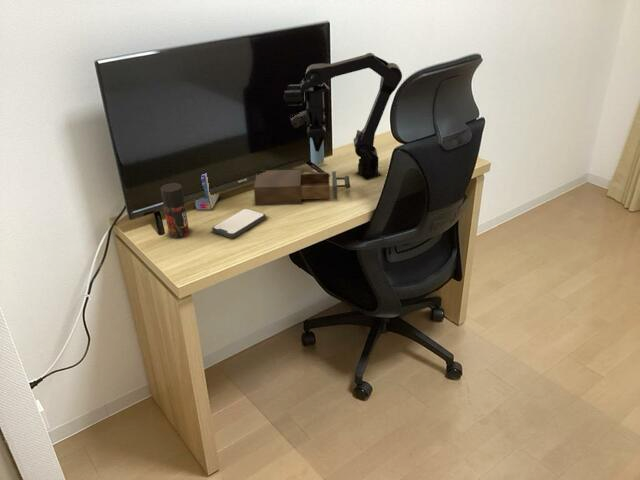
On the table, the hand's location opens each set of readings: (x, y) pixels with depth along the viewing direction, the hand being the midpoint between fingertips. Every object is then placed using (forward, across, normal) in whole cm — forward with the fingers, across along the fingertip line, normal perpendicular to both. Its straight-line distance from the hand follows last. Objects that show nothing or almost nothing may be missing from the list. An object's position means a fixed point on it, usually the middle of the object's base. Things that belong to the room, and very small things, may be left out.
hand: (317, 148), depth 200 cm
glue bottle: (+5, 0, 0) cm, 5 cm away
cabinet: (+10, +15, -13) cm, 22 cm away
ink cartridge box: (+10, +19, -36) cm, 42 cm away
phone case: (+10, +35, -24) cm, 44 cm away
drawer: (+10, +15, +1) cm, 18 cm away
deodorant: (+10, +39, -42) cm, 58 cm away
